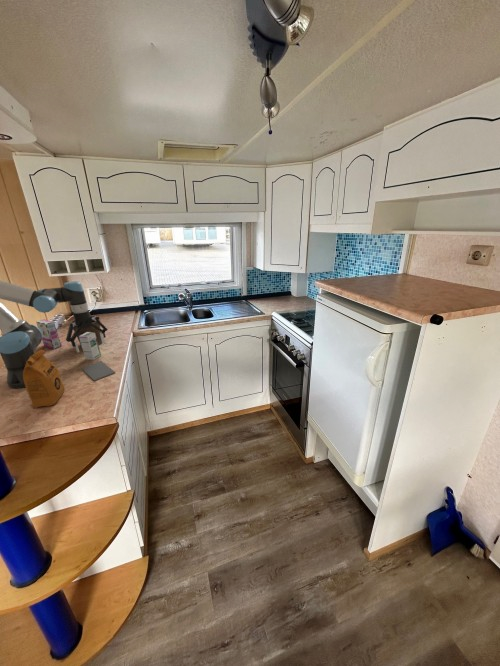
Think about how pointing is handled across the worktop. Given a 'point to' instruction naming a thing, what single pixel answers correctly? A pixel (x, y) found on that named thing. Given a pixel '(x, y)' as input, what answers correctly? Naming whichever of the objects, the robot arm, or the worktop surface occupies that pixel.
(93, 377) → the rubber mat
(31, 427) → the worktop surface
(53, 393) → the coffee package
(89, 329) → the plant pot
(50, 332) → the candy bar box
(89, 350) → the syrup box
